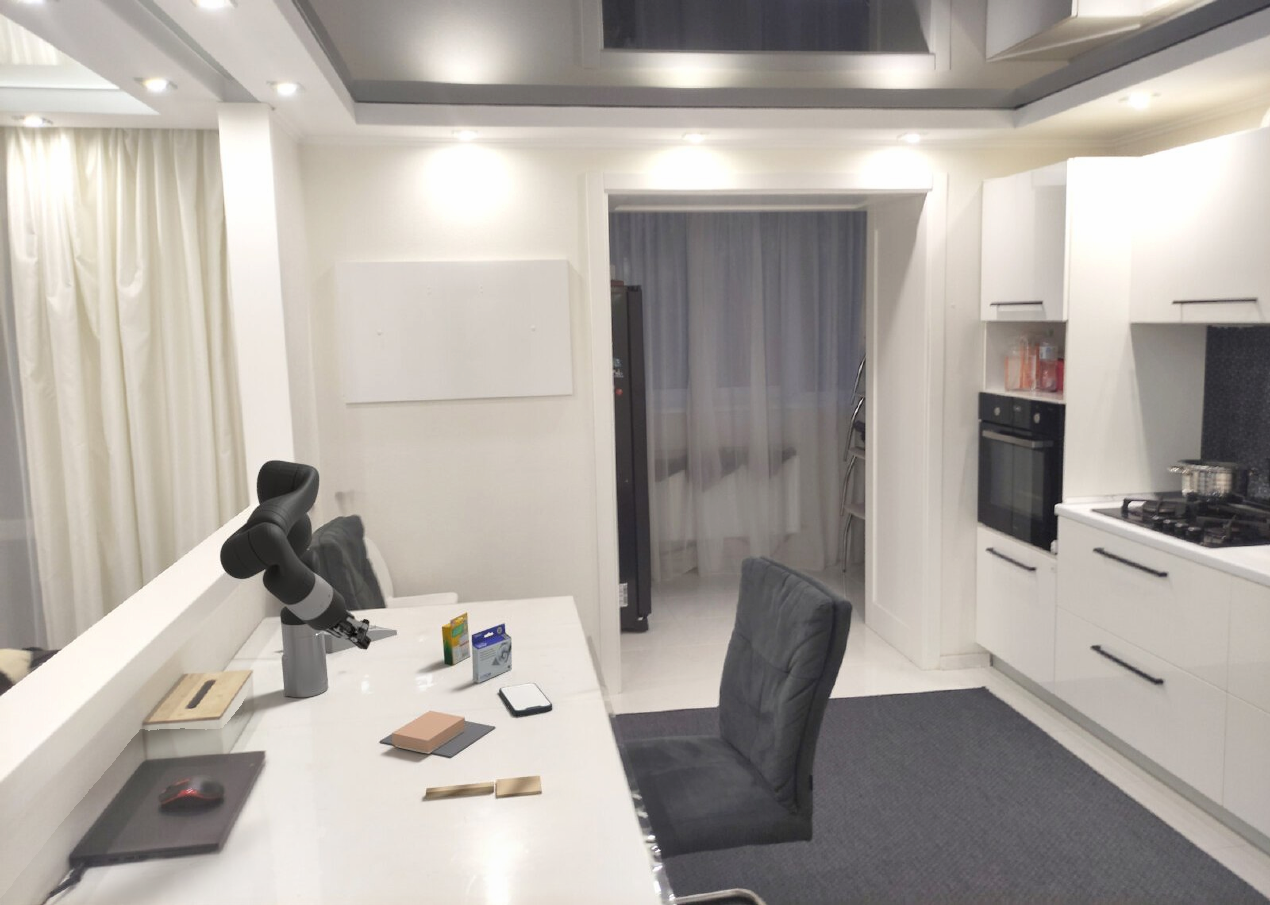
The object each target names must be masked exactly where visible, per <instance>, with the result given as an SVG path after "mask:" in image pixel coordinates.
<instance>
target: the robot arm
mask: <svg viewBox="0 0 1270 905" xmlns="http://www.w3.org/2000/svg"><path fill="white" fill-rule="evenodd" d="M319 487H320V473H319V470H318V469H317V468H316V467H315V466H312V465H309V464H305V463H299V462H298V463H297V462H292V461H285V460H278V459H277V460H276V459H274V460H268V461H266V462H265V463H263V464H262V466H261V467H260V468H259V470H258V474H257V478H256V496H257V501H258V504H259V505H257V506H256V507H255V508H254V510H252V512H251V514H250V515H249V517H248V519H247V521H246V522H245V523H244V524H243V525H242V526H241V527H239V528H238V529H237V530H236V531H235V532H234V533H232V534H231V535H230V536H228V538H226V539H225V541H224V542H223V544H222V545H221V548H220V551H219V560H220V564H221V567H222V569H223V570H224V572H225V573H226V574H227V575H228V576H230V577H232V578H234V579H237V580H246V579H250V578H252V577H255V576H256V575H258V574H260V573H261V572H263V571H264V572H263V575H262V584H263V586H264V587H265V589H266V590H267V591H268V592H269V593H270V594H272V595H273V596H274V597H275V598H276V599H278V600H279V601H281V602H282V603H283V605H285V606H284V607H283V608H281V610H280V614H279V615H280V625H281V627H280V628H281V639H282V650H283V654H282V655H281V667H282V681H283V682H282V683H283V690H284V691H283V693H284V694H283V695H284V697H291V698H310V697H314V696H317V695H321V694H322V693H324V692H326V691H328V689H329V678H328V677H329V676H328V667H327V666H328V665H327V653H326V651H325V639H324V631H325V632H327V633H330V634H332V635H334V636H336V637H337V638H341V637H343V638H344V639H345V640H347V641H351V642H352V643H353V644H355V645H356V648H358V649H360V650H366V651H367V650H368V648H369V647H370V644H371V643H372V642H371V639H370V638H369V637H368V636H366V633H367V631H368V629H369V625H370V623H371V622H370V620H369V619H367V618H363V619H361V620H357V619H356V617H355V615H354V614H353V613H351V612H350V611H349V610H348V609H347V607H346V601H345V600H346V599H345V598H344V597H343V595H342V594H341V593H340V592H339V591H337V590H336V589H335V588H334V587H333V586H332V585H330V583H328V582H327V581H326V580H325V579H324V578H322V576H321V562H320V557H319V555H318V552H317V550H314V549H309V548H310V546H311V545H312V544H311V543H312V540H313V527H312V521H311V518H310V516H309V515H308V512H310V511H311V510H312V508H313V507H314V505H315V503H316V500H317V497H318V494H319Z"/></svg>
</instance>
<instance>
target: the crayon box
mask: <svg viewBox="0 0 1270 905" xmlns="http://www.w3.org/2000/svg"><path fill="white" fill-rule="evenodd" d="M468 620H469V618H468V612H465V613H463V614H461V615H458V616H456V617H455V618H452V619H451V620H449V621H450V622H449V623H447V624H445V625H443V626H441V632H442V634H441V635H442V646H443V660H444V661H443V662H444V664H445V665H448V666H455V665H457V664H458V663H460V662H462V661H464V660H465V659H467V658H469V657H471V649H470V635H469V621H468Z"/></svg>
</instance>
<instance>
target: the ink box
mask: <svg viewBox="0 0 1270 905" xmlns="http://www.w3.org/2000/svg"><path fill="white" fill-rule="evenodd" d="M488 634H491V635H488ZM486 635H488V636H486ZM512 644H513V643H512V637H511V636H510V635H509V634H508V633H507V632H506V624H505V622H503V623H501V624H498V625H495V626H492V627H490V628H486V629H484V630H480V631H478V632H476V633H473V634H471V652H472V653H471V655H472V656H471V658H472V681H473V683H476V684H480V683H482V682H485V681H487V680H490V679H492V678H494V677H497V676H499V675H501V674H505V673H506V672H509V671H511V670H512V668H513V666H512V665H513V664H512V662H513V660H512V659H513V658H512V657H513V656H512V655H513V654H512V653H513V651H512V649H513V648H512Z"/></svg>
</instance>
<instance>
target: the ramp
mask: <svg viewBox="0 0 1270 905" xmlns="http://www.w3.org/2000/svg"><path fill="white" fill-rule="evenodd" d="M396 635H397V636H398V630H397V629H392V628H388V627H387V628H386V627H381V626H378V625H376V624H374V625H371V624H369V629H368V631H367V633H366V636H368V637H369V638H370V639H371V643H373V642H377V641H380V640H383V639H387V638H391V637H393V636H396ZM324 639H325V651H326V654H327V653H328V654H335V653H338V652H342V651H345V649H346V650H349V649H352V648H357V646H356V645H355V644H353V643H352V642H351V641H347V640H345V639H344V638H343V637H341V638H337V637H336V636H334V635H332V634H330V633H327V632H325V631H324Z"/></svg>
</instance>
